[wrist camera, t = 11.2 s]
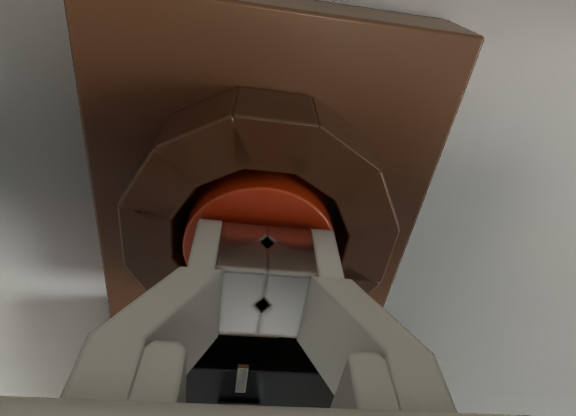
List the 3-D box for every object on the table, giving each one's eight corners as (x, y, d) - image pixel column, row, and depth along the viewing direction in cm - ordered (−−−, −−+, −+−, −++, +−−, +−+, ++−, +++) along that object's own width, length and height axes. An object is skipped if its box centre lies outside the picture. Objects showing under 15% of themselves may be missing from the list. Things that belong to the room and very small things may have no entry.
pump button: (315, 266, 12) (321, 311, 11) (192, 257, 12) (182, 303, 10) (339, 159, 10) (351, 196, 9) (193, 144, 10) (181, 180, 8)
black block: (330, 445, 23) (338, 511, 20) (125, 440, 22) (105, 509, 19) (382, 307, 17) (403, 376, 14) (100, 289, 16) (67, 360, 13)
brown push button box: (361, 290, 16) (386, 381, 13) (128, 273, 15) (90, 367, 12) (449, 19, 11) (530, 57, 8) (96, -33, 10) (9, -17, 7)
